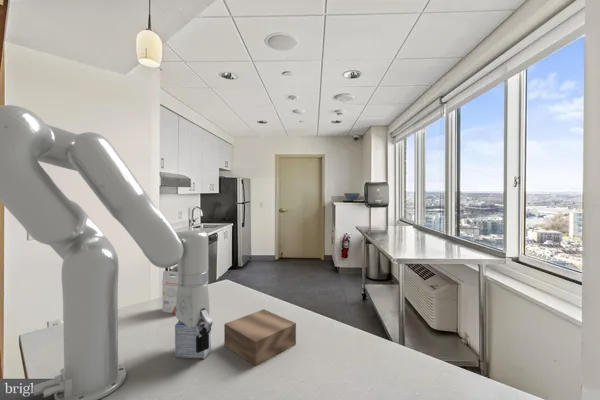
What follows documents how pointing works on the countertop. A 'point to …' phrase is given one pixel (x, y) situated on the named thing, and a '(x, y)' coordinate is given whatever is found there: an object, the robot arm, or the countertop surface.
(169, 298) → the ink cartridge box
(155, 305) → the countertop surface
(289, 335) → the block
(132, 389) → the countertop surface
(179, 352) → the medicine box
